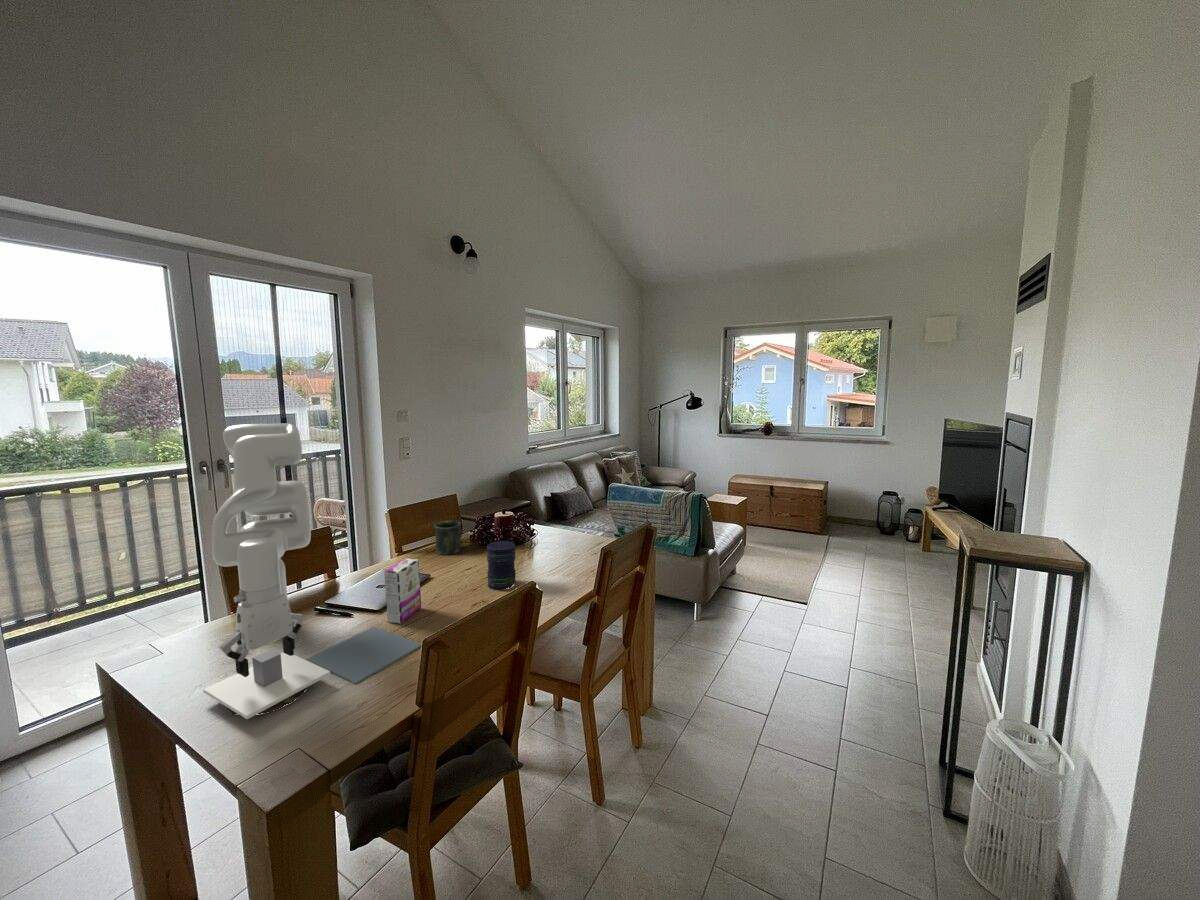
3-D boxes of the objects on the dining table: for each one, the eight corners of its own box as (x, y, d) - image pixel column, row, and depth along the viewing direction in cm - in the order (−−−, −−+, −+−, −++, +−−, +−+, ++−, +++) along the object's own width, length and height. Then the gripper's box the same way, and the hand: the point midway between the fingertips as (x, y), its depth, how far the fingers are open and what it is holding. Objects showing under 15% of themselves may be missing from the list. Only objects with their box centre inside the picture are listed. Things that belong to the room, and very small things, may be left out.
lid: (203, 692, 110) (200, 664, 109) (286, 653, 126) (284, 628, 125) (247, 719, 101) (244, 689, 100) (330, 674, 117) (328, 647, 116)
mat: (306, 661, 127) (305, 659, 127) (374, 628, 145) (374, 626, 144) (355, 684, 118) (355, 682, 118) (422, 646, 135) (422, 644, 135)
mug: (429, 553, 207) (428, 526, 206) (451, 543, 221) (450, 517, 219) (450, 557, 204) (449, 529, 202) (471, 546, 217) (471, 520, 216)
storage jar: (518, 580, 181) (518, 541, 179) (511, 591, 171) (511, 550, 169) (492, 579, 182) (491, 540, 180) (483, 590, 172) (482, 548, 170)
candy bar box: (407, 606, 159) (405, 557, 156) (421, 608, 158) (419, 558, 156) (386, 622, 148) (383, 570, 146) (401, 624, 147) (398, 572, 145)
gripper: (225, 612, 101) (233, 689, 104) (309, 583, 116) (314, 650, 119) (207, 604, 105) (215, 678, 107) (291, 576, 120) (295, 642, 122)
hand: (267, 664), depth 113 cm, fingers open, 9 cm apart
